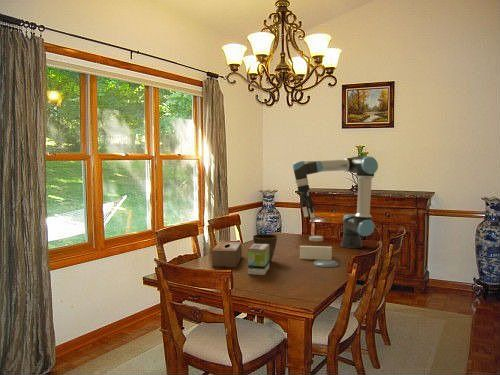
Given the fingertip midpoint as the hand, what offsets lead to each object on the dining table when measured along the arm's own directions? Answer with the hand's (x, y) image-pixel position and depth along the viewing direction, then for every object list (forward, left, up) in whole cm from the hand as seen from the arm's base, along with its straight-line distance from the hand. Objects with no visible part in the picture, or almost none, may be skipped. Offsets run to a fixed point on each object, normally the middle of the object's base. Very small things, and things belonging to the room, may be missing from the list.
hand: (309, 217), depth 277 cm
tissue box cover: (+50, -20, -26) cm, 60 cm away
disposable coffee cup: (-7, -1, -26) cm, 27 cm away
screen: (+2, +8, -26) cm, 27 cm away
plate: (+5, +21, -26) cm, 34 cm away
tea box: (+47, +10, -26) cm, 55 cm away
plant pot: (+31, -6, -26) cm, 41 cm away
